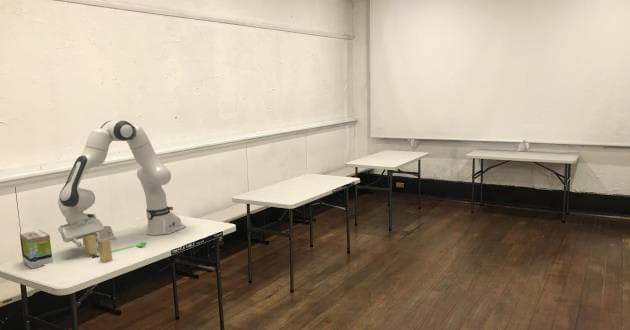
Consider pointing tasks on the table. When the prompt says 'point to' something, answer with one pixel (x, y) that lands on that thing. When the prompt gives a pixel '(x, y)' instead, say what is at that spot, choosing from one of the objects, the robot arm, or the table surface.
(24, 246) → the tea box
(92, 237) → the wooden block
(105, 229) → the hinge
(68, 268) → the table surface
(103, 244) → the tan wooden block
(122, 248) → the wrench
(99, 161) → the robot arm
